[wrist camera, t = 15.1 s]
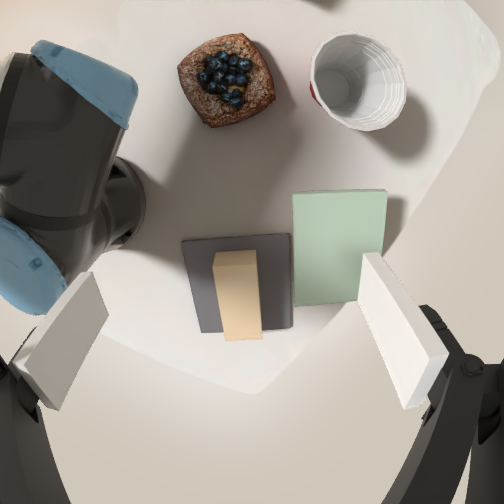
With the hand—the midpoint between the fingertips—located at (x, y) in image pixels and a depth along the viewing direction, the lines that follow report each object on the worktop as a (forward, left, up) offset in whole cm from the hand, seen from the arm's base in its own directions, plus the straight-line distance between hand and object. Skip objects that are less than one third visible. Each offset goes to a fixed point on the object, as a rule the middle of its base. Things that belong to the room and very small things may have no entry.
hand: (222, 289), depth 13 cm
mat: (-2, -19, -29) cm, 34 cm away
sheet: (+12, -10, -23) cm, 28 cm away
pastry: (-1, +12, -29) cm, 32 cm away
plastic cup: (+13, +11, -29) cm, 34 cm away
